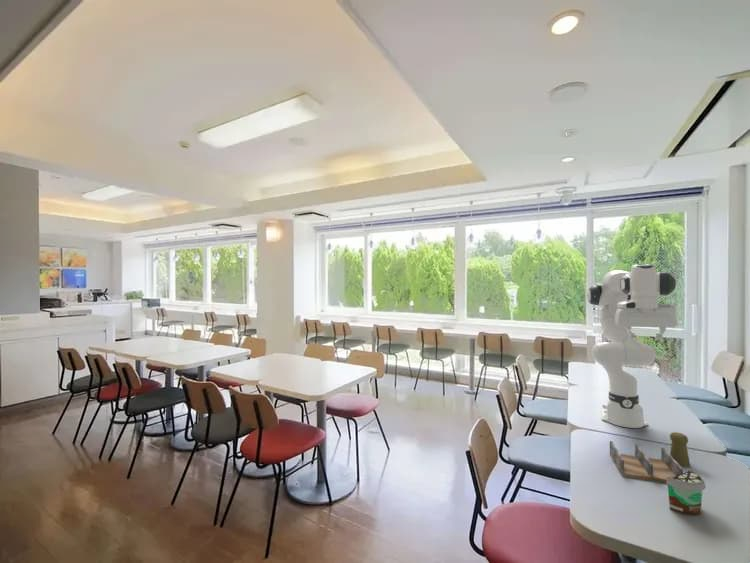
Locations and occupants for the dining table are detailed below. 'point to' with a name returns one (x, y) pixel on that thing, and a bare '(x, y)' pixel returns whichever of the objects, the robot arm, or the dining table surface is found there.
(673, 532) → the dining table surface
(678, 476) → the food container
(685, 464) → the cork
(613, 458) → the slot rack
